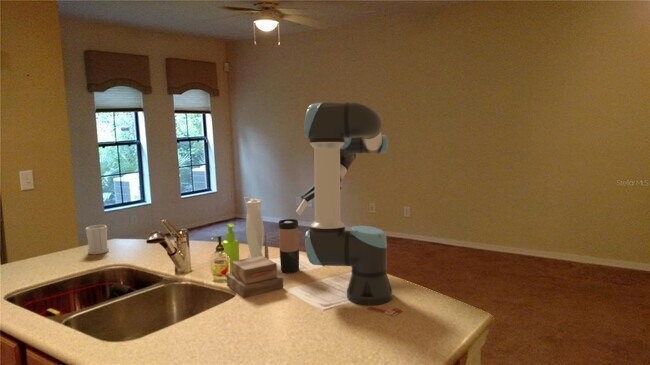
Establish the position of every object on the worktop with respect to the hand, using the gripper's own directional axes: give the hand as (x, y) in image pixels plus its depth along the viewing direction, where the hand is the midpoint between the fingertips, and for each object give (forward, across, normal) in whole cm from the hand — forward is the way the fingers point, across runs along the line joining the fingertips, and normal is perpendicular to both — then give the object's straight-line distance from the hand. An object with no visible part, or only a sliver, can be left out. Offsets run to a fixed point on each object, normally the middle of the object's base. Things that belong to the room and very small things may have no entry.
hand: (308, 215), depth 190 cm
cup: (+54, +88, +25) cm, 106 cm away
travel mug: (+22, 0, -7) cm, 23 cm away
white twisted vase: (+23, +20, -6) cm, 31 cm away
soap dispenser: (+35, +13, +6) cm, 38 cm away
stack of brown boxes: (+36, -5, +8) cm, 37 cm away
